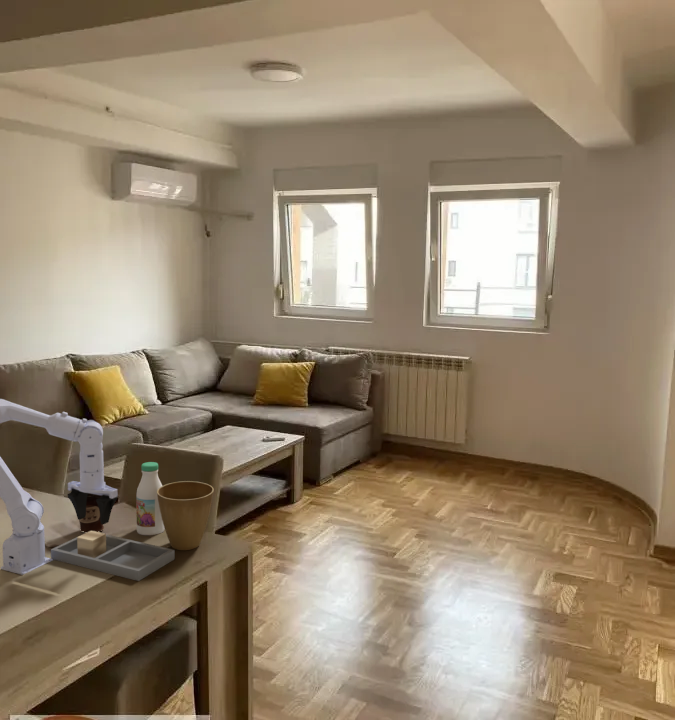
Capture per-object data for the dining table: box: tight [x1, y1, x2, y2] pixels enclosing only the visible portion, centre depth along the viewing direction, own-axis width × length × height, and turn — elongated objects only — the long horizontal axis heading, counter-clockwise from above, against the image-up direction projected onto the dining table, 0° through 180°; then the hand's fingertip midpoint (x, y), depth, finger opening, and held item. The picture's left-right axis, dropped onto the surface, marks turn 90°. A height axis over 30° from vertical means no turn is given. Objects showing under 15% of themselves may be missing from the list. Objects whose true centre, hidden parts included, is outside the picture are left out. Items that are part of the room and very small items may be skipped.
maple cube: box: [76, 531, 107, 558], centre depth 182 cm, size 5×5×5 cm
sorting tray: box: [50, 534, 176, 582], centre depth 180 cm, size 14×28×3 cm, turn 66°
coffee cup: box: [78, 493, 105, 532], centre depth 198 cm, size 9×8×13 cm
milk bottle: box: [135, 461, 165, 536], centre depth 198 cm, size 8×8×20 cm
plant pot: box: [157, 480, 215, 551], centre depth 189 cm, size 15×15×16 cm
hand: (93, 520), depth 180 cm, fingers open, 7 cm apart
